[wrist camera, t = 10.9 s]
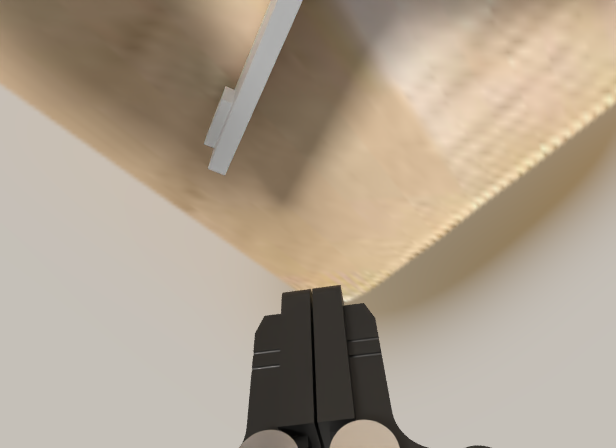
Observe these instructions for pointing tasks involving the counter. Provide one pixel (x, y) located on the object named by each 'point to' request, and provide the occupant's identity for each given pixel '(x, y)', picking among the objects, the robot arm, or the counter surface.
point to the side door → (249, 84)
